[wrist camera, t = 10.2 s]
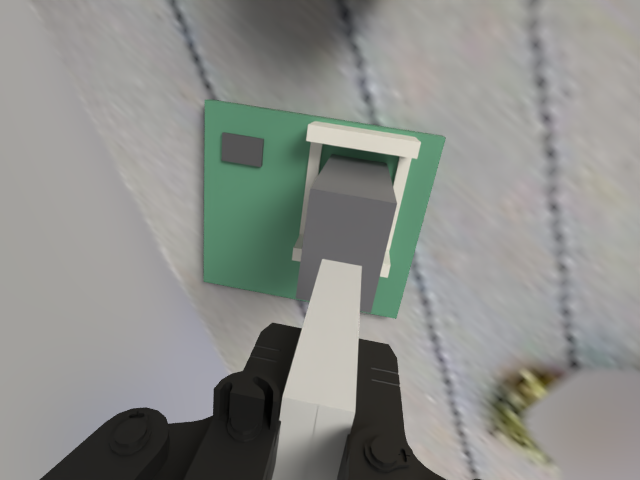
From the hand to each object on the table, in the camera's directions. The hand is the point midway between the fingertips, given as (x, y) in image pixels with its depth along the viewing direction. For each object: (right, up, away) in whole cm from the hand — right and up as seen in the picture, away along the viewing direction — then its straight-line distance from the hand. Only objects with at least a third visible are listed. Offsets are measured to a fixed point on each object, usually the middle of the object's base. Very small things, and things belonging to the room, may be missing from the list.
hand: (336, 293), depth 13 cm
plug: (+2, +5, +13) cm, 14 cm away
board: (-1, +4, +15) cm, 16 cm away
